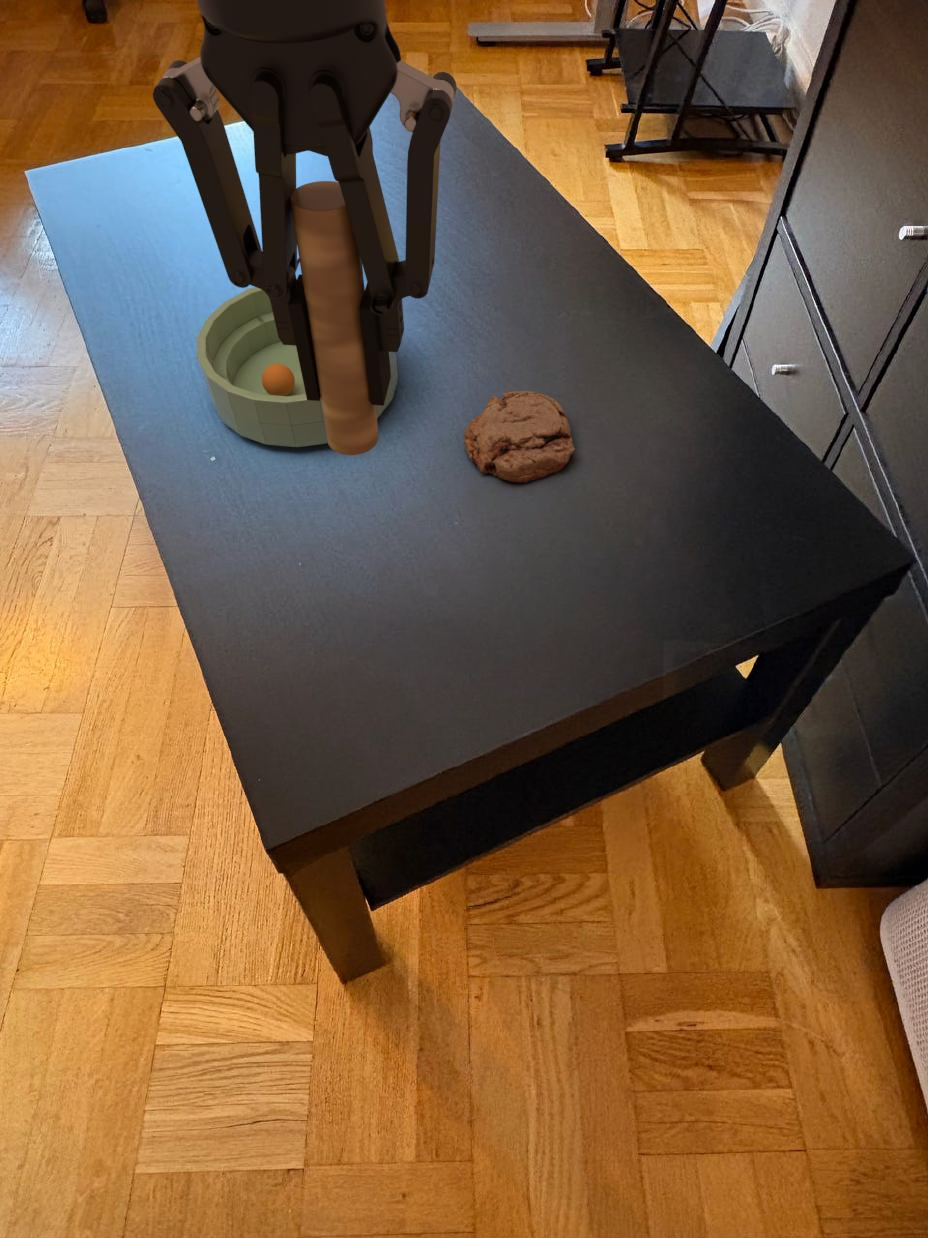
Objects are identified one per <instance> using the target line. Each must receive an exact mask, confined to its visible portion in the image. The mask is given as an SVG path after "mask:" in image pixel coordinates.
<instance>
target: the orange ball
mask: <svg viewBox="0 0 928 1238" xmlns="http://www.w3.org/2000/svg"><path fill="white" fill-rule="evenodd" d="M294 384H295V379H294V375H293V373H292V371H291V370H290V369H289V368H288V367H286V366H285V365H282V364H273V365H270V366H268V367H267V368H266V369H265V370H264V372H263V375H262V385H263V387H264V389H265V390H266V392H267V393H269V394H270V395H276V396H287V395H288V394H289V393H291V391H292V390H293V388H294Z"/></svg>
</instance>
